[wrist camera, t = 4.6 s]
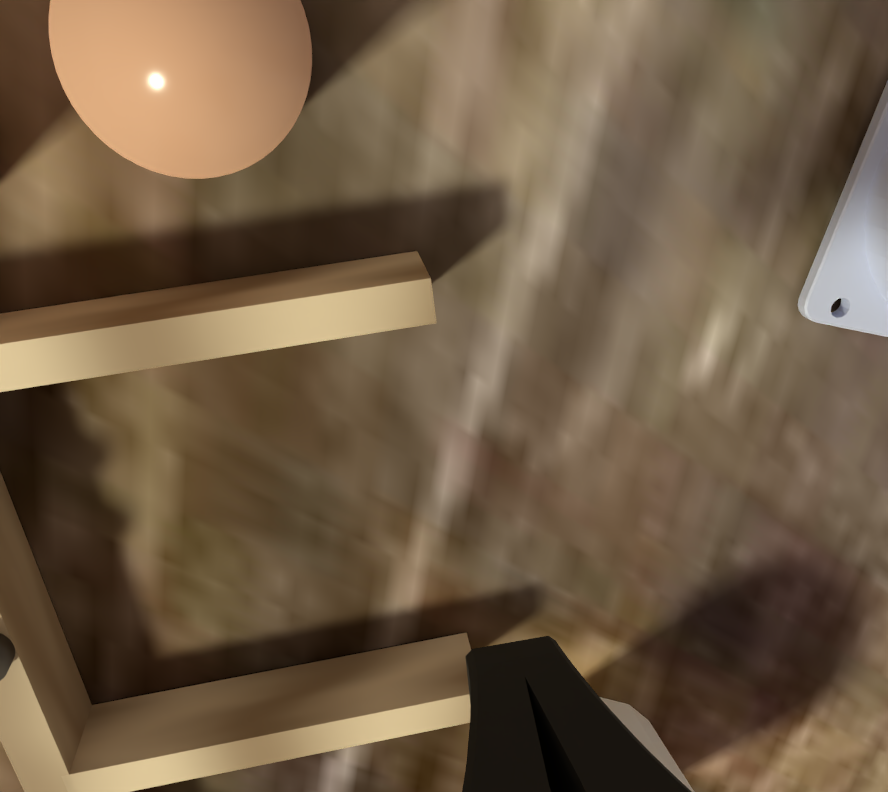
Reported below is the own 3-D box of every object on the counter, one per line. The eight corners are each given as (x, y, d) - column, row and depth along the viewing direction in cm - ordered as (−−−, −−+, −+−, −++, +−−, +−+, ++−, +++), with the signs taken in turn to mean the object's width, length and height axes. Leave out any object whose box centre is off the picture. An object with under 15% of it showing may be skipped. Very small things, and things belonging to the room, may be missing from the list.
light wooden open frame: (416, 250, 19) (434, 284, 17) (501, 905, 29) (521, 991, 27) (-114, 330, 18) (-186, 380, 16) (162, 982, 28) (147, 1079, 25)
